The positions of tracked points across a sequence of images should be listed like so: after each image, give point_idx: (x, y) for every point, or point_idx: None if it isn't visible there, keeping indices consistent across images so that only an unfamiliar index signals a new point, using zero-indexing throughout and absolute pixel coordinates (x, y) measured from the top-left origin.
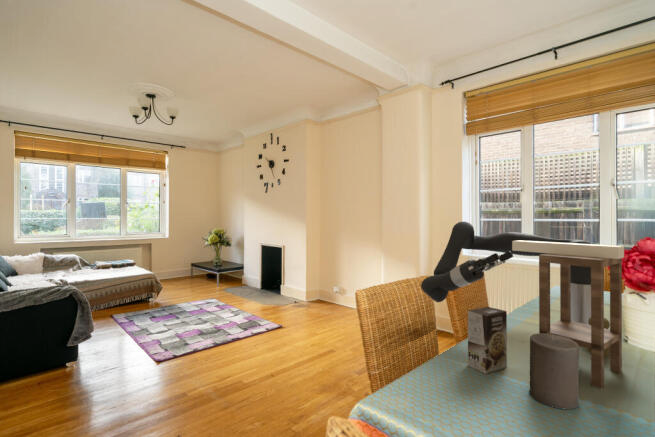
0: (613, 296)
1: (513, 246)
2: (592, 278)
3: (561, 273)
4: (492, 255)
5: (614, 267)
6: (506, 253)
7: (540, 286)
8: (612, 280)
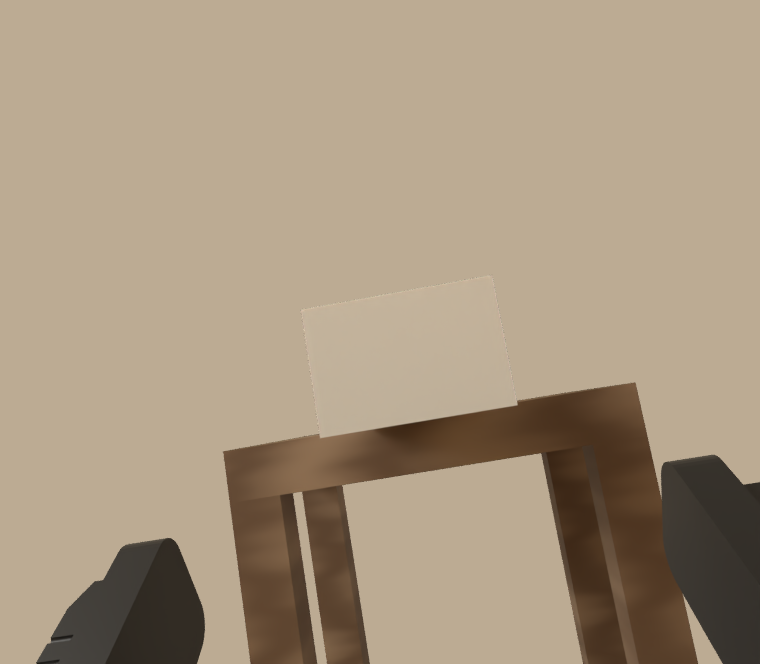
0: (360, 632)
1: (505, 349)
2: (586, 478)
3: (298, 621)
4: (757, 516)
5: (339, 488)
6: (152, 603)
7: (685, 627)
8: (348, 554)
